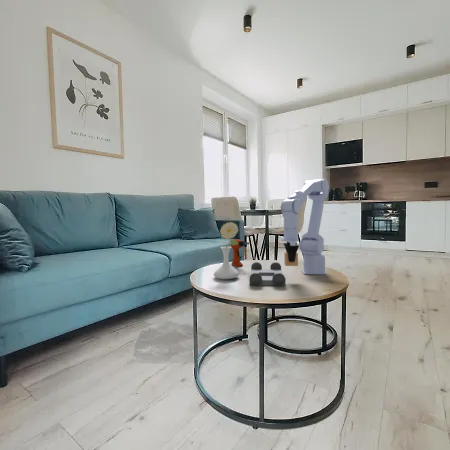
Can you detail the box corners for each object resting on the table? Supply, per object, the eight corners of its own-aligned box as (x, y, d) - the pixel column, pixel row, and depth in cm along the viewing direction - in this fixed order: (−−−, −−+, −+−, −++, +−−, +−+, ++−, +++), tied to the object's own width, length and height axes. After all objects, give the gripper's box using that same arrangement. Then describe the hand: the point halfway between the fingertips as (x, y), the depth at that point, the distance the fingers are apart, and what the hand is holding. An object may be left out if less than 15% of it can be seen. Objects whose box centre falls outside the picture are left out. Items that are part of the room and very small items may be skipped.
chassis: (281, 272, 131) (280, 262, 131) (285, 286, 107) (285, 273, 107) (251, 272, 133) (251, 262, 132) (249, 286, 109) (249, 273, 109)
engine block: (296, 263, 118) (296, 252, 117) (297, 265, 113) (297, 253, 113) (284, 263, 118) (284, 252, 118) (285, 265, 114) (285, 253, 114)
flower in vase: (208, 278, 122) (206, 222, 121) (225, 273, 131) (224, 221, 129) (230, 283, 114) (229, 223, 112) (247, 278, 122) (246, 221, 121)
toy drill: (246, 268, 135) (243, 237, 136) (230, 266, 152) (228, 239, 153) (254, 267, 137) (252, 237, 138) (238, 265, 154) (235, 238, 155)
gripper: (279, 227, 123) (279, 257, 123) (282, 229, 108) (282, 264, 109) (295, 227, 122) (296, 257, 122) (301, 229, 107) (301, 264, 108)
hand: (291, 260), depth 116 cm, fingers closed on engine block, 4 cm apart
